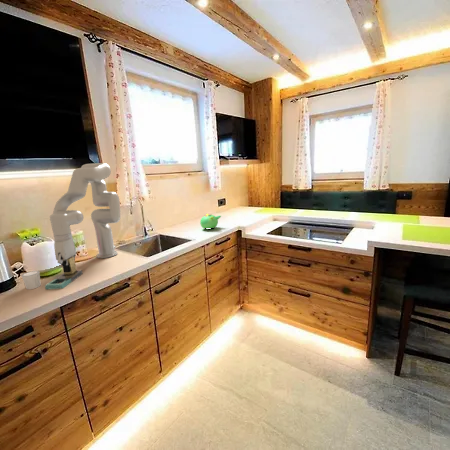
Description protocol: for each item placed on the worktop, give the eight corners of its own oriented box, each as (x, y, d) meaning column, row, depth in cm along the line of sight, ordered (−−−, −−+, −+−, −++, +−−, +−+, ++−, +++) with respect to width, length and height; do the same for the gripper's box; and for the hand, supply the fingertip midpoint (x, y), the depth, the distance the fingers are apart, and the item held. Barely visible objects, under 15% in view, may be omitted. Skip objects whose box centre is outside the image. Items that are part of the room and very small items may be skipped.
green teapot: (207, 226, 232) (206, 212, 229) (222, 227, 225) (221, 212, 222) (197, 230, 216) (196, 215, 213) (213, 232, 209) (212, 215, 206)
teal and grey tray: (67, 274, 128) (67, 271, 127) (82, 273, 128) (81, 270, 128) (45, 289, 111) (44, 285, 111) (62, 288, 112) (61, 284, 111)
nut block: (69, 274, 126) (66, 256, 124) (77, 273, 127) (73, 256, 124) (65, 277, 123) (61, 259, 120) (72, 276, 123) (69, 259, 120)
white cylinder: (22, 288, 114) (18, 274, 112) (38, 282, 119) (35, 269, 118) (27, 291, 110) (24, 277, 109) (44, 285, 116) (41, 272, 114)
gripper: (65, 233, 128) (72, 264, 132) (44, 242, 111) (52, 277, 116) (79, 232, 128) (85, 263, 132) (60, 241, 112) (67, 276, 116)
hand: (70, 269), depth 124 cm, fingers closed on nut block, 4 cm apart
